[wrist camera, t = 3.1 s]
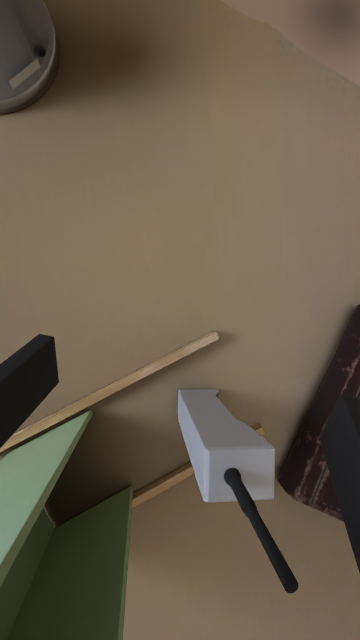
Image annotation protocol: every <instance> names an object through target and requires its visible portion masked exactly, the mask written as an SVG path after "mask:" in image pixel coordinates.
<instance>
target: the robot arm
mask: <svg viewBox="0 0 360 640" xmlns="http://www.w3.org/2000/svg"><path fill="white" fill-rule="evenodd" d="M58 63H59V45H58V39H57V35H56V32H55V29H54V25H53V22H52V19H51V16H50V13H49V11H48V8H47V6H46V4H45V3H44V1H43V0H0V114H3V113H10V112H14V111H17V110H20V109H23V108H25V107H27V106H29V105H30V104H32V103H34V102H35V101H36V100H38V99H39V98H40V97H41V96H42V95H43V94H44V93H45V92H46V91H47V89H48V88H49V86H50V85H51V83H52V81H53V79H54V77H55V74H56V71H57V68H58ZM58 383H59V379H58V370H57V360H56V351H55V342H54V337H52V336H47V335H42V334H39V335H37V336H36V337H35V338H33V339H32V340H31V341H30V342H28V343H27V344H26V345H24V346H23V347H22V348H21V349H19V350H18V351H17V352H15V353H14V354H13V355H12V356H10V357H9V358H8V359H7V360H5V361H4V362H3V363H1V364H0V448H1V447H2V446H3V445H4V444H5V443H6V442H7V440H8V439H9V438H10V437H11V436H12V435H13V434H14V432H15V431H16V430H17V429H18V428H19V427H20V426H21V425H22V423H23V422H24V421H25V420H26V419H27V418H28V417H29V416H30V414H31V413H32V412H33V411H34V410H35V409H36V408H37V406H38V405H39V404H40V403H41V402H42V401H43V400H44V399H45V397H46V396H47V395H48V394H49V393H50V392H51V391H52V389H53V388H54V387H55V386H56V385H57V384H58ZM319 440H320V444H321V447H322V450H323V454H324V457H325V460H326V463H327V467H328V470H329V473H330V477H331V480H332V483H333V486H334V490H335V493H336V496H337V500H338V503H339V506H340V510H341V513H342V516H343V519H344V523H345V526H346V529H347V533H348V536H349V539H350V542H351V546H352V549H353V552H354V556H355V559H356V562H357V566H358V569H359V572H360V398H359V397H354V396H349V395H344V394H340V395H339V398H338V400H337V402H336V404H335V406H334V408H333V410H332V412H331V415H330V417H329V419H328V421H327V423H326V425H325V427H324V429H323V432H322V434H321V436H320V438H319Z"/></svg>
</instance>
